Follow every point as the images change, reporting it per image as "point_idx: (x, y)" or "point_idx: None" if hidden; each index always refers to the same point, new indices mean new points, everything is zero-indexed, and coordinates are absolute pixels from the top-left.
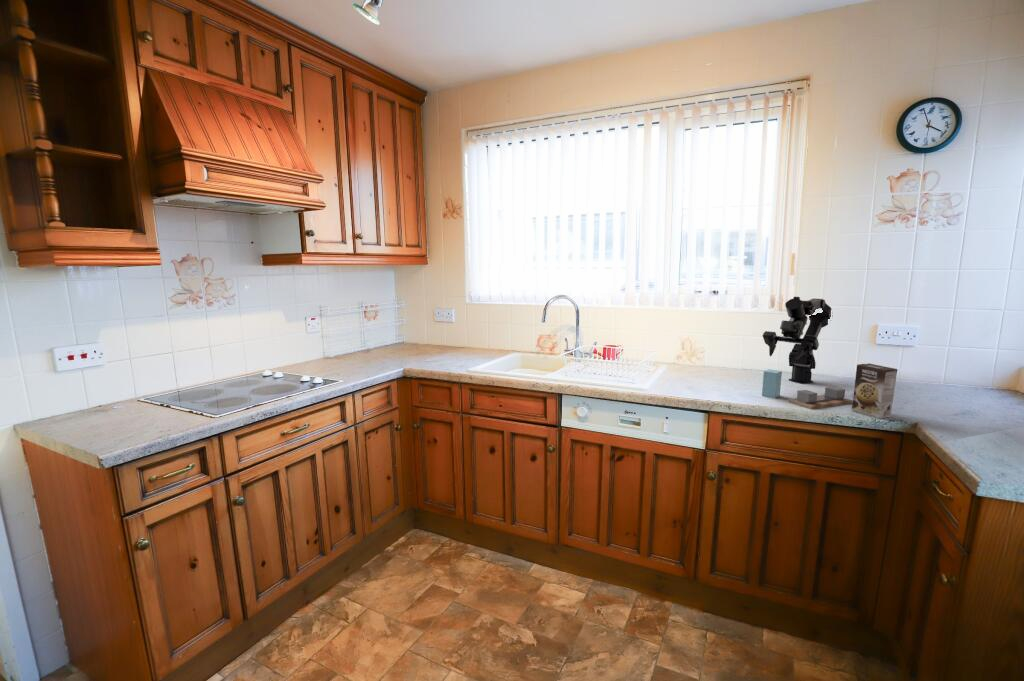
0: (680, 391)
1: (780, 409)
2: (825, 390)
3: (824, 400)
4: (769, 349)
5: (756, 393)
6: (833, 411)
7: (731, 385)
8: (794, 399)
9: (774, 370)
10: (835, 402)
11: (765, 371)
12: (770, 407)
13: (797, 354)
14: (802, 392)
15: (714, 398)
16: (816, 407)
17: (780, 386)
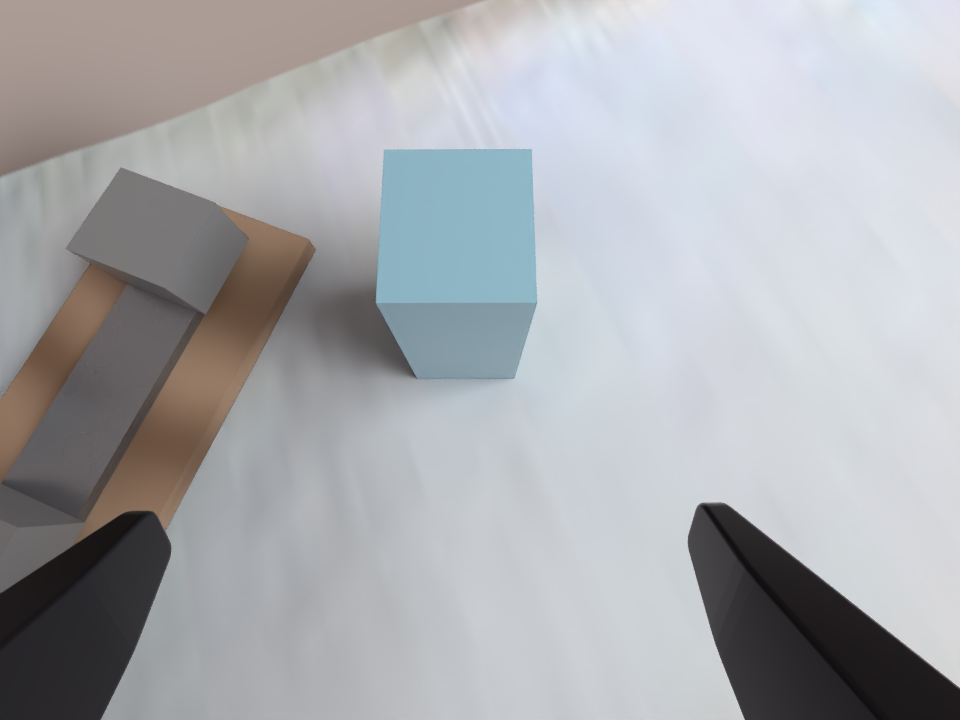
0: (917, 9)
1: (305, 68)
2: (43, 524)
3: (78, 369)
4: (858, 612)
5: (568, 312)
6: (32, 241)
7: (833, 410)
8: (273, 264)
9: (458, 275)
10: (8, 399)
11: (511, 149)
12: (363, 66)
13: (51, 578)
14: (174, 189)
15: (684, 15)
16: None
17: (406, 355)
